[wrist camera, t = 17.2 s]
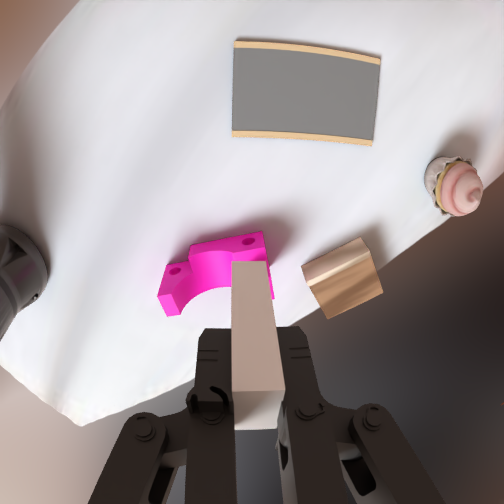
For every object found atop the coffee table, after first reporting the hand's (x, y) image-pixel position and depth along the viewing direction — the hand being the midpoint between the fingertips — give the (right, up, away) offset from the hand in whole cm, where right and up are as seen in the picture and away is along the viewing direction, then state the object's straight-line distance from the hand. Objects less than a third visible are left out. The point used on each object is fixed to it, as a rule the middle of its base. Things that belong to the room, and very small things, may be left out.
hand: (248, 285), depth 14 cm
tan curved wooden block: (+17, -6, +34) cm, 38 cm away
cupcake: (+29, +13, +25) cm, 40 cm away
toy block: (-5, +1, +31) cm, 31 cm away
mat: (+7, +21, +19) cm, 29 cm away
